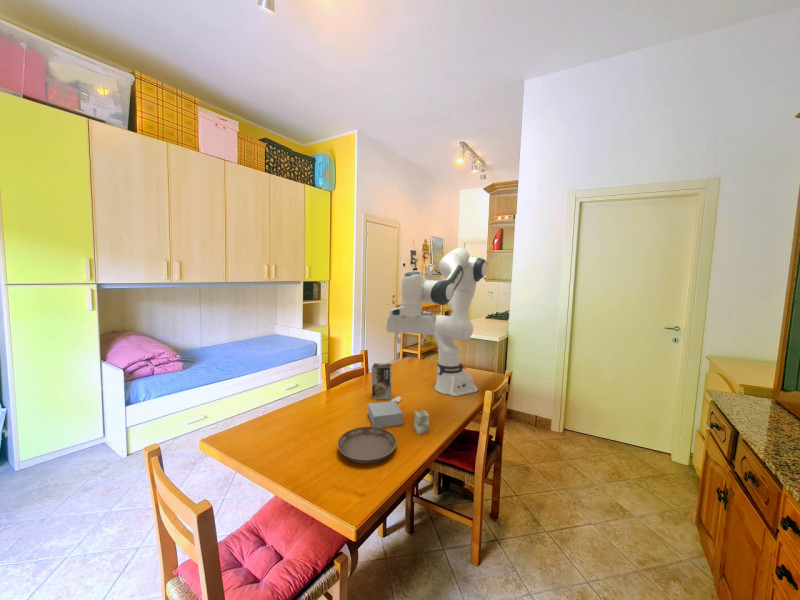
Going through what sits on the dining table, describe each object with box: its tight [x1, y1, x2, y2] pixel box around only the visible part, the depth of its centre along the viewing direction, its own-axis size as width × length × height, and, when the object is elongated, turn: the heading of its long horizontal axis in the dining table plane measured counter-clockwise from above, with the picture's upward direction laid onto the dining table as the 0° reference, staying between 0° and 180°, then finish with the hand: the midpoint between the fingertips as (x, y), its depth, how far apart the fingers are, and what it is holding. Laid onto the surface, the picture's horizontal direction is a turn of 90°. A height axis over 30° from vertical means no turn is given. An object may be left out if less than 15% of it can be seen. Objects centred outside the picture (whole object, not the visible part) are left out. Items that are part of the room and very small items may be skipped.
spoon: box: [390, 396, 402, 403], centre depth 145 cm, size 4×21×2 cm, turn 146°
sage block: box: [413, 409, 430, 435], centre depth 124 cm, size 4×4×7 cm
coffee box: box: [371, 363, 393, 400], centre depth 154 cm, size 9×6×16 cm
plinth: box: [367, 400, 404, 429], centre depth 132 cm, size 12×12×5 cm
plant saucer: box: [337, 426, 397, 464], centre depth 111 cm, size 21×21×3 cm
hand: (410, 343), depth 131 cm, fingers open, 8 cm apart
